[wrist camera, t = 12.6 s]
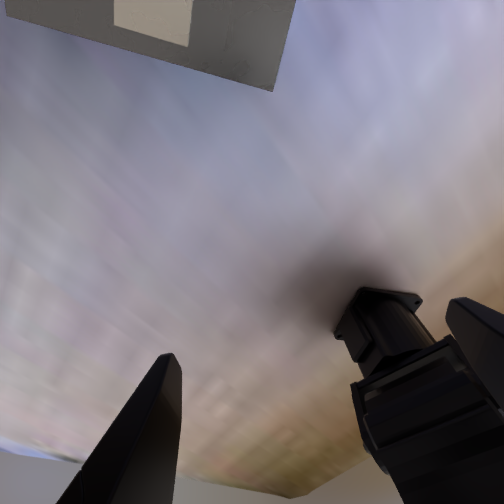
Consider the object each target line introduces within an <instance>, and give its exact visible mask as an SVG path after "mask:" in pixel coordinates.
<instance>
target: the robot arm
mask: <svg viewBox="0 0 504 504" xmlns="http://www.w3.org/2000/svg"><path fill="white" fill-rule="evenodd" d="M364 292H365V293H364ZM422 302H423V300H422V299H421V298H420V296H417V295H410V294H404V293H398V292H391V291H385V290H379V289H372V288H366V287H363V288H360V289H359V290H358V291H357V293H356V295H355V297H354V298H353V300H352V302H351V304H350V305H349V307H348V309H347V310H346V312H345V314H344V316H343V317H342V319H341V321H340V323H339V324H338V326H337V328H336V330H335V331H334V337H335V339H337V340H344V341H345V344H346V346H347V348H348V351H349V353H350V355H351V358H352V360H353V361H354V362H355V363H358V365H359V368H360V370H361V372H362V374H363V377H364V379H363V380H361V381H359V382H354V383H352V384H350V387H351V391H352V399H353V403H354V408H355V412H356V416H357V421H358V425H359V429H360V433H361V437H362V440H363V446H364V449H365V450H366V452H367V453H369V454H371V455H372V457H373V458H374V460H375V462H376V463H377V464H378V466H379V467H380V468H381V470H382V471H383V472H384V473H385V474H387V475H390V476H391V478H392V480H393V482H394V483H395V485H396V488H397V490H398V492H399V493H400V496H401V498H402V500H403V502H404V504H504V314H502V313H500V312H497V311H495V310H493V309H491V308H489V307H487V306H485V305H482V304H480V303H478V302H476V301H474V300H472V299H469V298H467V297H459V298H454V299H451V300H450V301H449V305H448V308H447V312H446V316H445V319H446V323H447V325H448V327H449V328H450V330H451V332H452V334H453V335H454V337H455V339H456V340H455V339H454V338H453V336H452V335H451V334H449V335H447V336H445V337H444V339H442V340H440V341H438V342H436V341H435V339H434V338H433V337H432V335H431V334H430V333H429V331H428V330H427V329H426V328H425V326H424V325H423V324H422V322H421V321H420V320H419V318H418V317H417V316H416V314H415V312H416V311H417V309H418V308H419V306H420V305H421V304H422ZM181 420H182V370H181V367H180V365H179V363H178V361H177V359H176V357H175V355H174V354H173V353H166V354H162V355H160V356H159V357H158V358H157V359H156V361H155V362H154V364H153V365H152V367H151V368H150V370H149V371H148V372H147V374H146V375H145V377H144V378H143V380H142V381H141V382H140V384H139V385H138V387H137V388H136V390H135V391H134V393H133V394H132V395H131V397H130V398H129V400H128V401H127V403H126V404H125V406H124V407H123V408H122V410H121V411H120V413H119V414H118V416H117V417H116V418H115V420H114V421H113V423H112V424H111V426H110V427H109V429H108V430H107V431H106V433H105V434H104V436H103V437H102V439H101V440H100V441H99V443H98V444H97V446H96V447H95V449H94V450H93V452H92V453H91V454H90V456H89V457H88V459H87V460H86V462H85V463H84V465H83V466H82V468H81V470H80V471H79V472H78V473H77V474H76V476H75V477H74V479H73V480H72V482H71V483H70V484H69V486H68V487H67V489H66V490H65V491H64V493H63V494H62V496H61V497H60V499H59V500H58V501H57V503H56V504H172V501H173V492H174V484H175V475H176V466H177V458H178V449H179V440H180V432H181Z"/></svg>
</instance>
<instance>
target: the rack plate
mask: <svg viewBox="0 0 504 504" xmlns="http://www.w3.org/2000/svg"><path fill="white" fill-rule="evenodd" d="M295 2H296V0H5V7H6V13H7V16H10V17H13V18H17V19H20V20H23V21H27V22H30V23H34V24H37V25H41V26H44V27H48V28H51V29H55V30H58V31H62V32H65V33H69V34H72V35H76V36H79V37H83V38H86V39H90V40H93V41H97V42H100V43H104V44H107V45H111V46H114V47H118V48H121V49H125V50H128V51H132V52H135V53H139V54H142V55H146V56H149V57H153V58H156V59H159V60H163V61H166V62H170V63H173V64H177V65H180V66H184V67H187V68H191V69H194V70H198V71H201V72H205V73H208V74H212V75H215V76H219V77H222V78H226V79H229V80H233V81H236V82H240V83H243V84H247V85H250V86H254V87H257V88H261V89H264V90H268V91H271V92H273V89H274V85H275V81H276V77H277V73H278V69H279V65H280V61H281V57H282V53H283V49H284V45H285V41H286V37H287V33H288V30H289V26H290V22H291V18H292V14H293V10H294V6H295Z"/></svg>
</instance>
